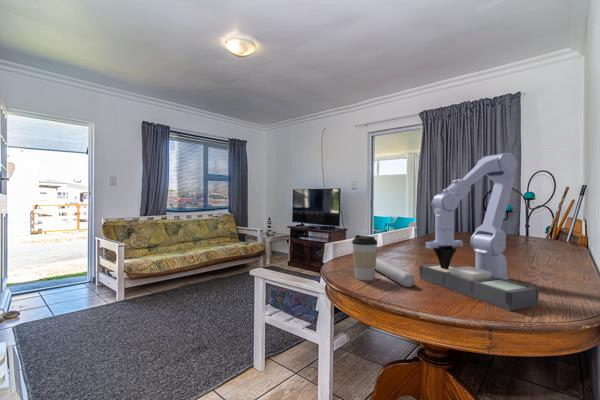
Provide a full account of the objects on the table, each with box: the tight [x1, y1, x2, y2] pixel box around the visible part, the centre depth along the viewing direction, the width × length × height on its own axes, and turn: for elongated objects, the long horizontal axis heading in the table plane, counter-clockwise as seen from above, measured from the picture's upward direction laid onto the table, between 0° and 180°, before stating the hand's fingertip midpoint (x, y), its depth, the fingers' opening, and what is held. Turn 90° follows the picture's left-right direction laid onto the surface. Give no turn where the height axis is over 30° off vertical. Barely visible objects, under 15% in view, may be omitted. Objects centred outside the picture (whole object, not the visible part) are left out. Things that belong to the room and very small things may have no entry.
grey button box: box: [419, 263, 539, 312], centre depth 89 cm, size 11×31×5 cm, turn 19°
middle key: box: [451, 265, 491, 281], centre depth 89 cm, size 8×8×2 cm
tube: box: [375, 256, 416, 288], centre depth 103 cm, size 5×5×25 cm
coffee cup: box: [351, 234, 378, 281], centre depth 103 cm, size 9×9×15 cm
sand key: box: [429, 265, 454, 272], centre depth 98 cm, size 8×8×2 cm
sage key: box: [480, 280, 527, 291], centre depth 80 cm, size 8×8×2 cm
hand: (444, 268), depth 98 cm, fingers closed, pressing on sand key
